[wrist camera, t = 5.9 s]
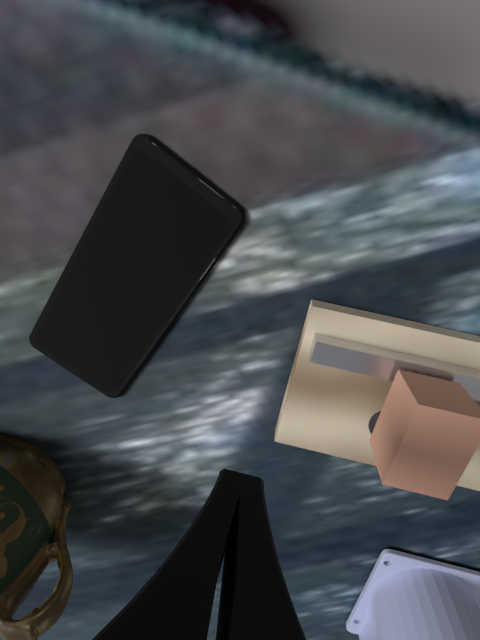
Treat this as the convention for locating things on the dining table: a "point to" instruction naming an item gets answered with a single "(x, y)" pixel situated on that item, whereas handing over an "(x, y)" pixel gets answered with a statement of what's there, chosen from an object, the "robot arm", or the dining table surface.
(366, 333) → the hole plate
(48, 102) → the dining table surface
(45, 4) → the dining table surface
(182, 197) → the smartphone
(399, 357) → the divider bar
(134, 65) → the dining table surface
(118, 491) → the dining table surface
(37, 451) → the cup
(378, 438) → the brownish pink rectangular block
